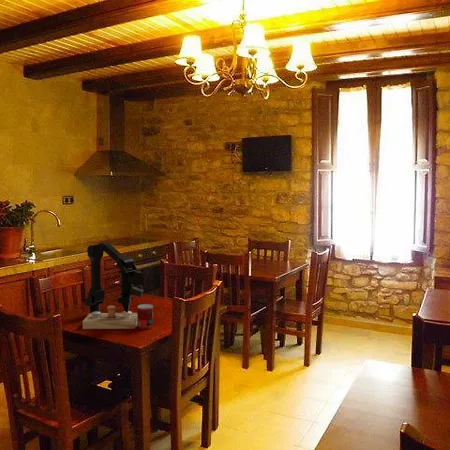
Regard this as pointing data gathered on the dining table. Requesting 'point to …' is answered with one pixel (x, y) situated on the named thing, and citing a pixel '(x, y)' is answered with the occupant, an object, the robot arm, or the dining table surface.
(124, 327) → the beech block
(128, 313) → the cream plug
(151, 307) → the canned food
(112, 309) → the terracotta plug
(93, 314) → the grey plug
